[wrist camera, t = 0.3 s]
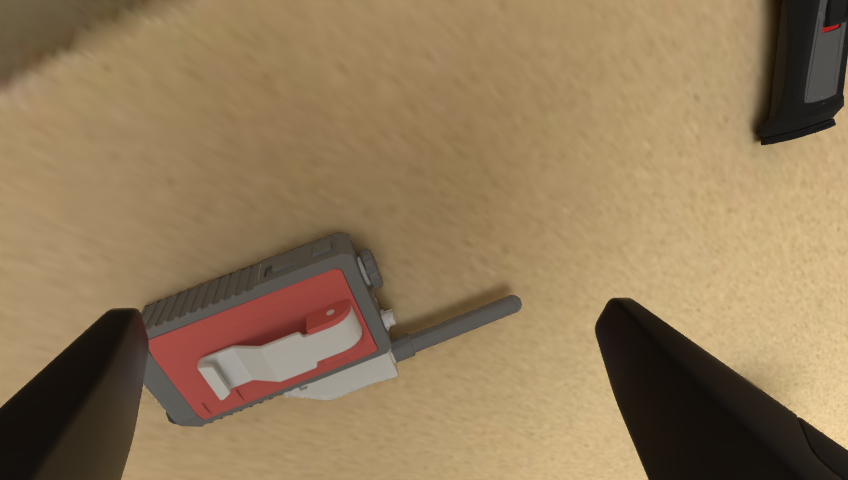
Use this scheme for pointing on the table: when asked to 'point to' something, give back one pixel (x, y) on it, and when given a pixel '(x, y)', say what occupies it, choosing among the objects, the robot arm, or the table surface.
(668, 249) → the table surface
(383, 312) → the walkie-talkie
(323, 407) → the table surface
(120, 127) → the table surface
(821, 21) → the electric trimmer
